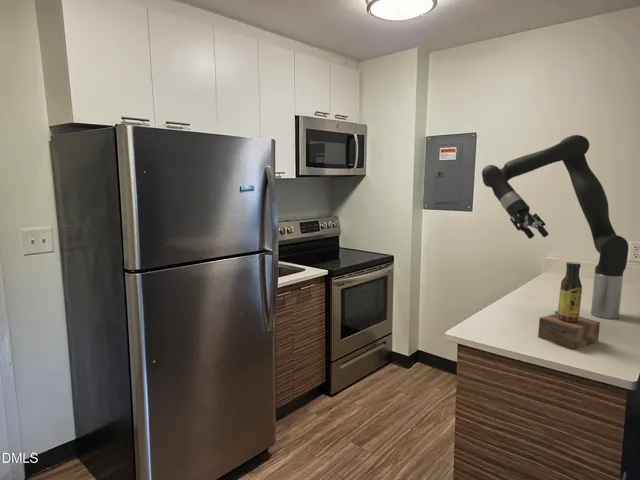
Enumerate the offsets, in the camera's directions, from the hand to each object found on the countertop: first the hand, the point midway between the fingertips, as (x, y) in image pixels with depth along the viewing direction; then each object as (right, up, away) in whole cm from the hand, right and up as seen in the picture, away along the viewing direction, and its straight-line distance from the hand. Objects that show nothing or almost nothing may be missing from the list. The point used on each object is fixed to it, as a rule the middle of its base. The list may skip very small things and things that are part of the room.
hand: (539, 236), depth 151 cm
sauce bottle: (+2, -29, -15) cm, 32 cm away
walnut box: (+2, -36, -14) cm, 38 cm away
